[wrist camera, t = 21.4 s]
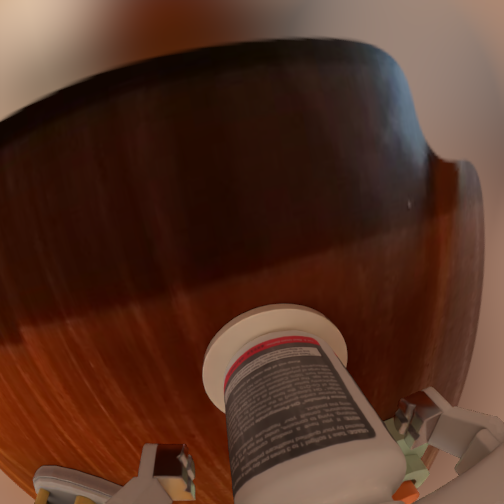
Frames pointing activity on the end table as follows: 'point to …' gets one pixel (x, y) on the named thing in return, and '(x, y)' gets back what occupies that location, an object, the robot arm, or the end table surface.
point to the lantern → (71, 487)
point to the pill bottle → (304, 428)
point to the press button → (406, 493)
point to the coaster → (259, 325)
